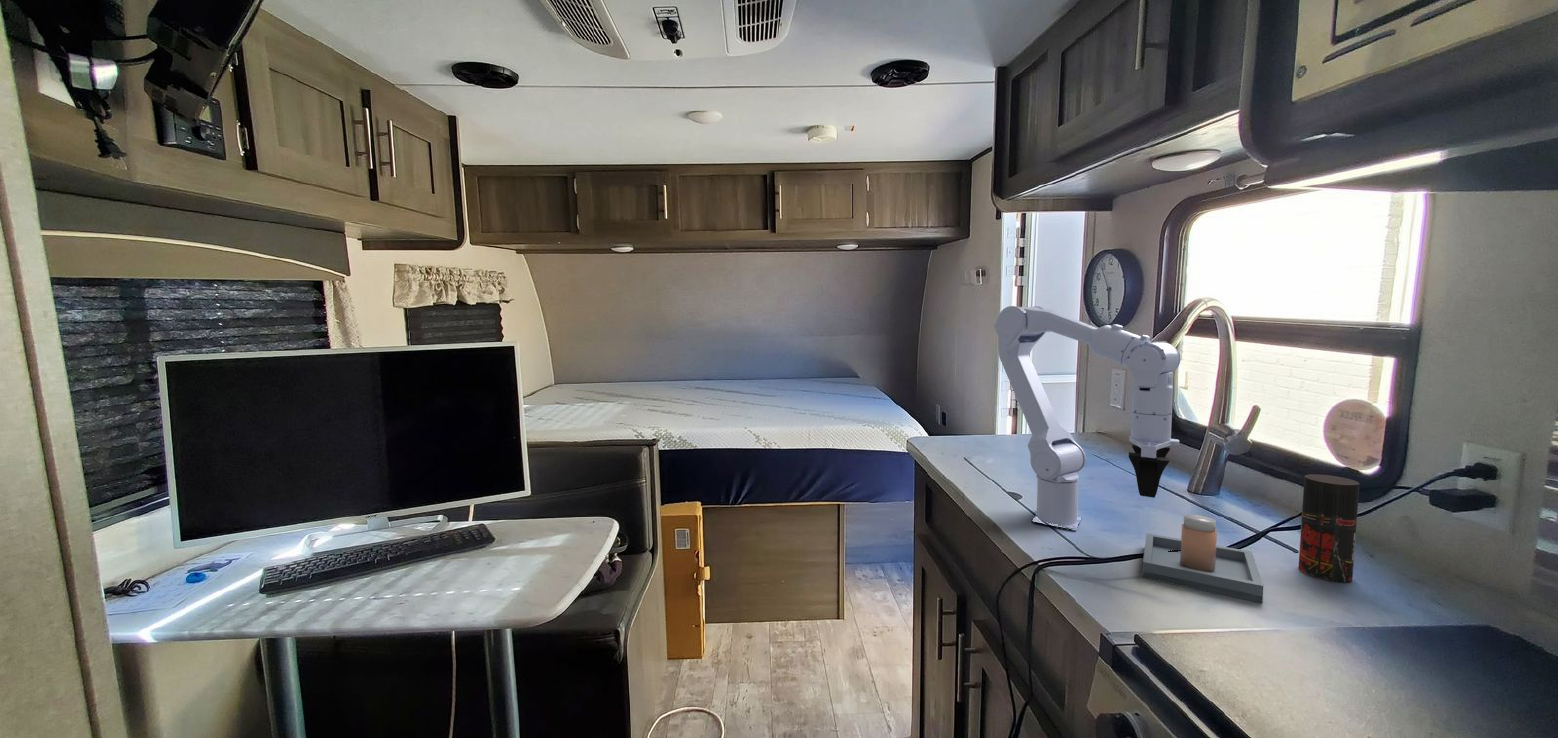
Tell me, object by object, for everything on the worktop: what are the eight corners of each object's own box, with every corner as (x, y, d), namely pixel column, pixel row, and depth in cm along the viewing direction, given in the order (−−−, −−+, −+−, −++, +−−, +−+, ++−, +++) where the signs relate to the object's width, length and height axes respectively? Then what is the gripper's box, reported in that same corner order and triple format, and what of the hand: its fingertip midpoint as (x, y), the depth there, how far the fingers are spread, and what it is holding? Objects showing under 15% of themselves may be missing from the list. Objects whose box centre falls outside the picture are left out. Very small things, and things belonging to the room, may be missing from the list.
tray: (1146, 546, 96) (1146, 533, 96) (1250, 566, 88) (1251, 551, 87) (1142, 577, 84) (1143, 561, 84) (1262, 603, 76) (1263, 585, 76)
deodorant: (1293, 562, 89) (1299, 472, 88) (1344, 570, 86) (1350, 477, 85) (1304, 577, 84) (1311, 481, 83) (1359, 586, 81) (1366, 487, 79)
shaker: (1180, 557, 89) (1182, 512, 89) (1214, 564, 86) (1217, 517, 86) (1179, 566, 86) (1181, 519, 85) (1215, 573, 83) (1218, 525, 82)
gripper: (1181, 421, 85) (1177, 506, 86) (1180, 408, 97) (1176, 483, 98) (1127, 417, 89) (1124, 498, 90) (1132, 405, 101) (1129, 477, 102)
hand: (1148, 490), depth 94 cm, fingers open, 7 cm apart
